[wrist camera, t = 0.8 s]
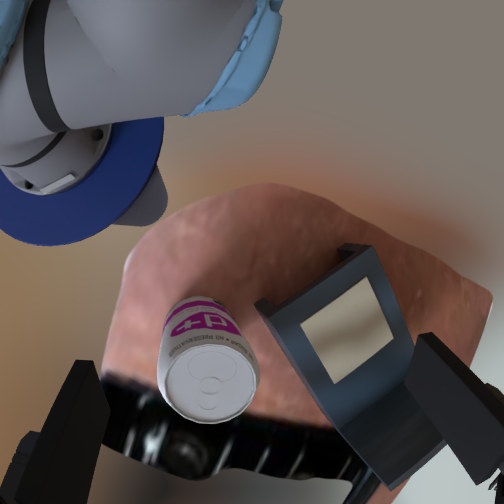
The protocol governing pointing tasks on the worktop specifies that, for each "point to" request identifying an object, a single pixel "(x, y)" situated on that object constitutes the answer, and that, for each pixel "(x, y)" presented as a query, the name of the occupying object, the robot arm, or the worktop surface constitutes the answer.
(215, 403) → the supplement can
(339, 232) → the worktop surface
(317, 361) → the chair
